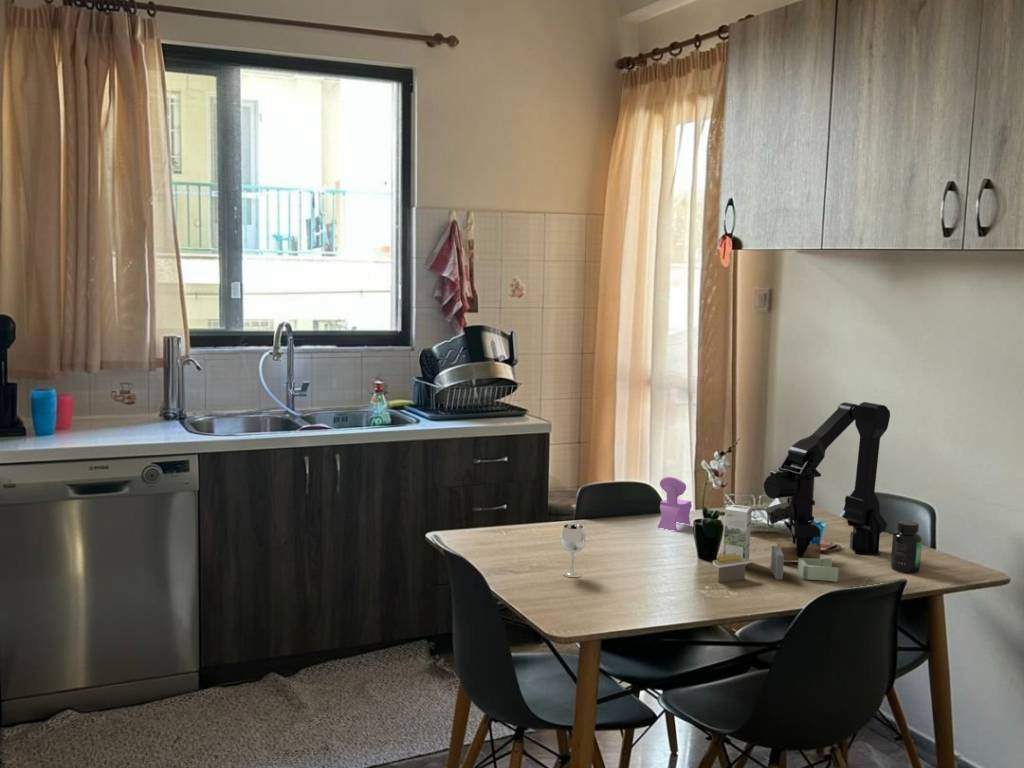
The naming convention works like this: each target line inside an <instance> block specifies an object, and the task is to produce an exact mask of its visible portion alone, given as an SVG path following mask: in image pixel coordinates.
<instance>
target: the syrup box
mask: <svg viewBox="0 0 1024 768" xmlns="http://www.w3.org/2000/svg"><path fill="white" fill-rule="evenodd" d="M752 508H753V507H752V506H746V505H739V504H738V505H737V504H729V505H727V506H726V508H725V510H724V524H723V525H724V528H723V546H722V549H723V551H722V554H729V553H736V555H740V554H741V558H745V559H749V560H750V546H751V544H750V542H751V528H752V527H751V525H752V512H753V511H752V510H753V509H752ZM731 555H732V554H731ZM734 555H735V554H734ZM723 556H724V555H723ZM726 556H727V555H726ZM732 558H733V557H732ZM739 558H740V556H739ZM747 565H748V563H747V564H745V567H746V566H747Z"/></svg>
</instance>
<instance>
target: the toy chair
mask: <svg viewBox="0 0 1024 768" xmlns="http://www.w3.org/2000/svg"><path fill="white" fill-rule="evenodd" d="M659 486H660V488H661V489H662V490H663V491H664V492H665V493H666V499H664V500H661V501H660V504H659V509H660V520H659V523H658V524H657V527H658V528H657V527H656V528H657V529H660V528H664V529H663V530H665V529H668V530H667V531H670V530H674V531H673V532H675V531H677V532H678V529H677V524H676V522H679V523H685V524H689V525H691V521H690V511H691V509H692V500H685V499H680V498H678V497H679V496H681V495H683V494H684V493H685V491H686V489H687V484H686V483H685V482H684V481H682V480H681V479H679V478H677V477H675V476H674V477H673V476H664V477H663V478H661V479H660V481H659Z"/></svg>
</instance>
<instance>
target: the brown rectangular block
mask: <svg viewBox="0 0 1024 768" xmlns="http://www.w3.org/2000/svg"><path fill="white" fill-rule="evenodd" d="M776 546H778V547H779V548H780V550H781V552H782V553H783V555H784V562H798V558H814V559H821V546H820V545H818V544H817V543H813V542H810V544H809V546H808V548H807V549H806V551H805V553H804V555H803V557H798V556H797V548H796V543H793V542H792V543H783V542H781V543H776Z"/></svg>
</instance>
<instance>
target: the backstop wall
mask: <svg viewBox="0 0 1024 768" xmlns="http://www.w3.org/2000/svg"><path fill="white" fill-rule="evenodd" d="M770 554H771V557H770V571H771V573H772V574H773V576H774V578H775V580H780V581H782V580H783V576H784V562H785V561H784V555H783V553H782V552H781V550H780V548H779V547H778V546H777V545H772V546H771V553H770Z"/></svg>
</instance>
